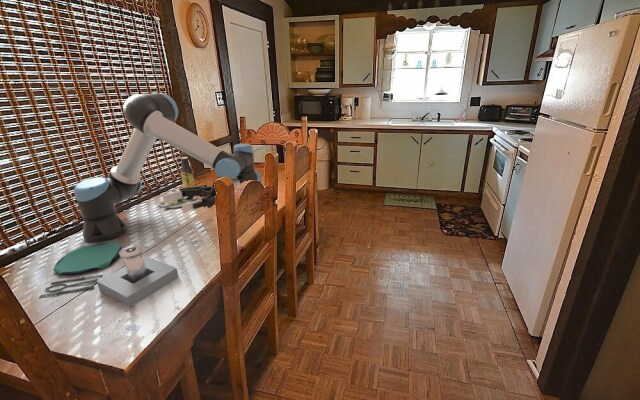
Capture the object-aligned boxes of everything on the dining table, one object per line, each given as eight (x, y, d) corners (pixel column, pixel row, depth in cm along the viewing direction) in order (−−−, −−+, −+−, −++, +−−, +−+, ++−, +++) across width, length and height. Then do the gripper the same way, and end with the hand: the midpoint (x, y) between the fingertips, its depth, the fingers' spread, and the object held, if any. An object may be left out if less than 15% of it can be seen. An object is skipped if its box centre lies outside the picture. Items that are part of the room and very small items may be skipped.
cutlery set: (129, 243, 121) (128, 238, 120) (100, 290, 95) (98, 284, 94) (72, 251, 117) (70, 246, 116) (24, 303, 90) (21, 297, 89)
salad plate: (175, 213, 150) (173, 204, 148) (148, 208, 156) (146, 200, 154) (202, 199, 166) (201, 191, 165) (177, 196, 172) (175, 188, 171)
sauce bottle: (181, 191, 179) (175, 158, 172) (189, 188, 185) (183, 155, 177) (190, 192, 177) (183, 159, 170) (197, 189, 182) (192, 156, 175)
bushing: (124, 285, 95) (114, 251, 91) (143, 274, 100) (135, 242, 96) (136, 291, 92) (126, 257, 88) (155, 280, 97) (146, 247, 93)
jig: (99, 290, 93) (96, 281, 92) (148, 264, 106) (146, 256, 105) (129, 307, 86) (126, 297, 85) (178, 277, 99) (176, 268, 98)
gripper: (247, 204, 112) (193, 224, 97) (210, 190, 127) (158, 205, 112) (245, 185, 110) (189, 202, 95) (207, 173, 125) (154, 186, 110)
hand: (172, 203), depth 103 cm, fingers open, 13 cm apart
